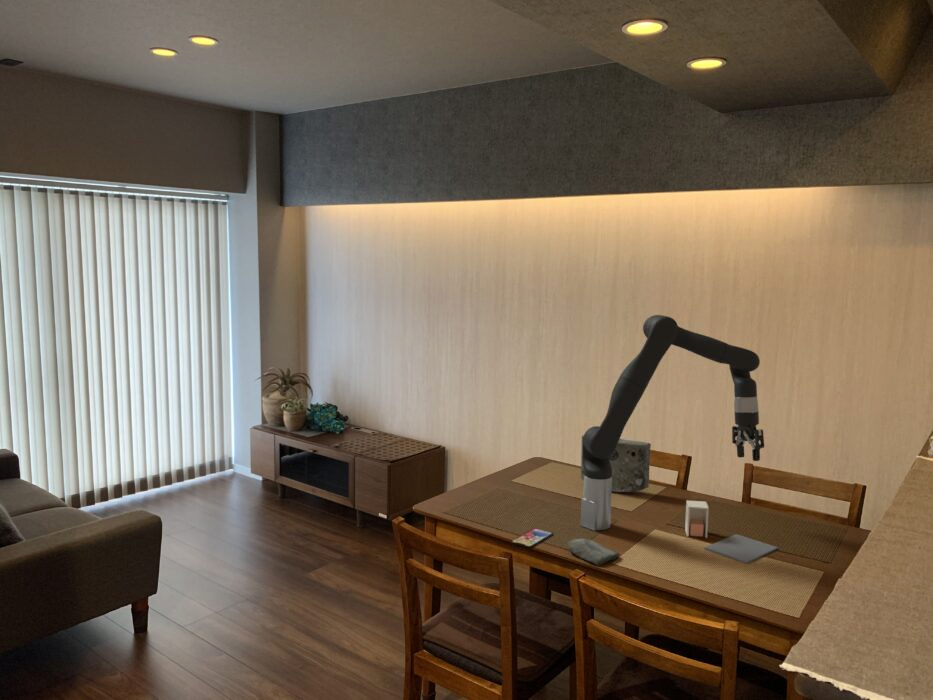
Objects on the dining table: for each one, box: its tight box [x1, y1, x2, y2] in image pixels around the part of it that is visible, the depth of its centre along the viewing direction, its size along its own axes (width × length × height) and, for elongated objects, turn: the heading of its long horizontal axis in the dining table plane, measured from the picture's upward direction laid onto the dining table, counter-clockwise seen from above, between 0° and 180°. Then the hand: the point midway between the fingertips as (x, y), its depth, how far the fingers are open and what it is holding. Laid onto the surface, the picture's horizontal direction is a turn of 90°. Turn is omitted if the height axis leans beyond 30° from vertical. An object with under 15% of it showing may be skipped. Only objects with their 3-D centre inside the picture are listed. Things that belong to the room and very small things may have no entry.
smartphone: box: [511, 528, 554, 549], centre depth 232 cm, size 7×1×15 cm
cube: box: [689, 520, 704, 537], centre depth 237 cm, size 4×4×4 cm
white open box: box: [684, 500, 710, 539], centre depth 236 cm, size 6×6×10 cm
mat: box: [704, 533, 779, 565], centre depth 224 cm, size 18×14×1 cm
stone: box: [567, 538, 621, 567], centre depth 219 cm, size 11×4×15 cm
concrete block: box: [580, 434, 652, 493], centre depth 281 cm, size 27×9×20 cm, turn 55°
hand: (748, 459), depth 242 cm, fingers open, 8 cm apart
